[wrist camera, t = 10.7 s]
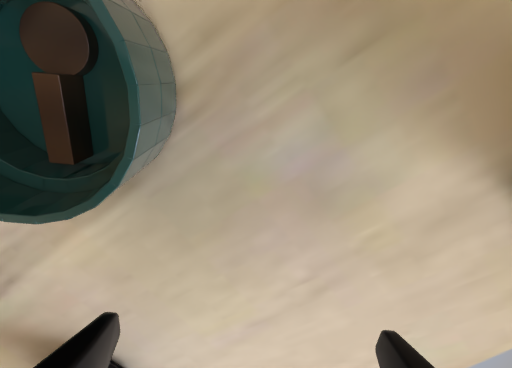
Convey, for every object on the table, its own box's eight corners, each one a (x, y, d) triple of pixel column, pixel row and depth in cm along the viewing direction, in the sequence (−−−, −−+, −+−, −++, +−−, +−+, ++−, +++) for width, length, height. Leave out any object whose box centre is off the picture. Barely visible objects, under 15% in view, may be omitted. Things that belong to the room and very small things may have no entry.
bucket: (96, 211, 21) (31, 265, 15) (-70, 71, 17) (-249, 67, 11) (219, 100, 18) (201, 111, 12) (52, -100, 14) (-102, -235, 8)
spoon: (110, 157, 18) (93, 166, 16) (54, 152, 18) (29, 161, 16) (94, 9, 15) (69, -2, 13) (26, 2, 15) (-10, -10, 13)
